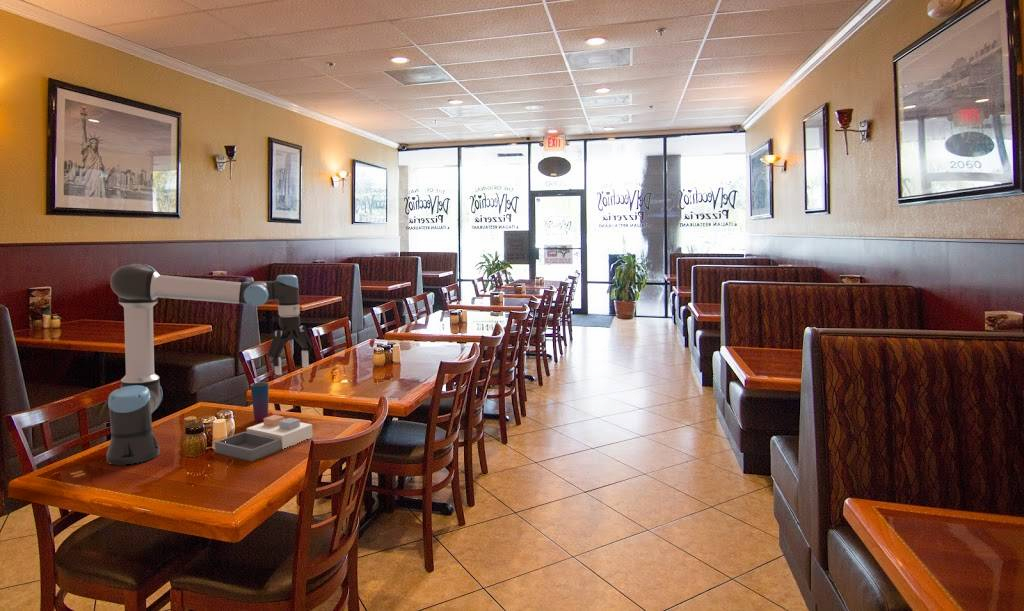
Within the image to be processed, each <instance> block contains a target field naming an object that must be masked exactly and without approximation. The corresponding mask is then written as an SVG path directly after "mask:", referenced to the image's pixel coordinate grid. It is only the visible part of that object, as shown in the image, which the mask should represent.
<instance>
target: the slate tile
mask: <svg viewBox="0 0 1024 611" xmlns="http://www.w3.org/2000/svg"><path fill="white" fill-rule="evenodd" d="M284 419H285V420H282V421H279V428H281V429H286V430H291V429H294V428H297V427H299V426H300V422H301V420H300V419H298V418H293V417H289V418H284Z"/></svg>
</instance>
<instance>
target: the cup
mask: <svg viewBox="0 0 1024 611" xmlns="http://www.w3.org/2000/svg"><path fill="white" fill-rule="evenodd" d="M269 387H270V383H269V382H265V381H261V382H260V381H259V382H254V383H253V382H252V383H251V384H250V393H251V401H252V408H253V419H254V422H255V421H264V419H263V418H266V417H269V396H270V395H269V391H270V390H269V389H270V388H269Z"/></svg>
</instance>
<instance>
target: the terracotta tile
mask: <svg viewBox="0 0 1024 611" xmlns="http://www.w3.org/2000/svg"><path fill="white" fill-rule="evenodd" d="M263 419H264V425H266V426H271V427H275V426H278V425H279V421H282V420H284V419H285V416H283V415H282V416H281V415H277V414H272V415H268V417H266V418H263Z"/></svg>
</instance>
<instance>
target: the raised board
mask: <svg viewBox="0 0 1024 611" xmlns="http://www.w3.org/2000/svg"><path fill="white" fill-rule="evenodd" d="M285 419H286V418H284V420H285ZM246 432H248V433H252V434H257V435H262V436H266V437H271V438H275V439H280V449H281V450H282V449H283V450H285V449H284V448H286V449H287V447H288V448H290V447H289V446H291V447H292V445H293V446H296V445H298V444H300V443H302V442H301V441H303V440H305V441H307V440H306V439H308V440H309V439H312V437H313V435H314V434H313V424H312V423H308V422H307V423H306V422H301V421H300V426H299V427H297V428H294V429H291V430H286V429H281V428H279V425H278V426H275V427H271V426H266V425H264V422H259V423H258V424H254V425H253V426H249V427H246ZM299 442H300V443H299ZM303 442H304V441H303ZM297 443H298V444H297Z"/></svg>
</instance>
